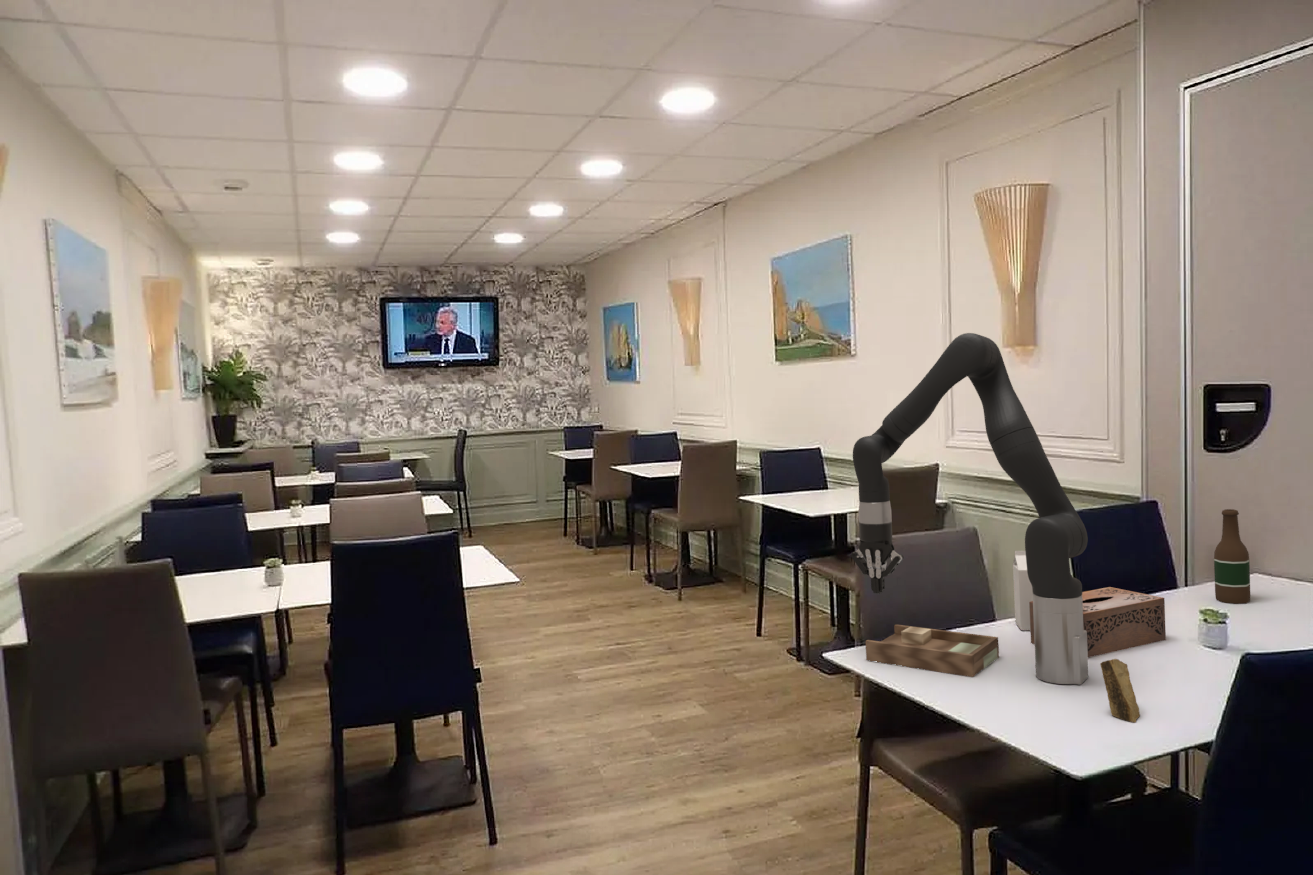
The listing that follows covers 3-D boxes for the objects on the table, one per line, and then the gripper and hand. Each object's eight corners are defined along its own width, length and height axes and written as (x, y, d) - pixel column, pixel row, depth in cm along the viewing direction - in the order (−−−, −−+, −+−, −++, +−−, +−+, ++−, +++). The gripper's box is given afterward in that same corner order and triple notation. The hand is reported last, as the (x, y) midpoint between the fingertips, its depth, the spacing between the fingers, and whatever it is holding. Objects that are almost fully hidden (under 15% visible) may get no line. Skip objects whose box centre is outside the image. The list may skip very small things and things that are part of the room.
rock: (1111, 683, 169) (1077, 686, 164) (1139, 653, 164) (1104, 655, 160) (1153, 731, 161) (1118, 736, 156) (1183, 701, 157) (1148, 705, 152)
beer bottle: (1208, 599, 234) (1205, 509, 233) (1230, 596, 237) (1227, 507, 236) (1235, 605, 227) (1232, 512, 226) (1258, 602, 229) (1255, 510, 228)
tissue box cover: (1082, 659, 192) (1081, 614, 191) (1030, 644, 205) (1029, 601, 204) (1165, 641, 201) (1164, 597, 201) (1111, 627, 215) (1109, 586, 214)
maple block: (931, 639, 203) (931, 629, 203) (922, 645, 200) (922, 634, 200) (910, 637, 207) (910, 626, 207) (901, 642, 203) (901, 631, 203)
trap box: (998, 657, 196) (998, 637, 196) (972, 677, 184) (971, 655, 183) (896, 643, 211) (896, 624, 211) (866, 660, 199) (865, 640, 199)
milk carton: (1052, 631, 214) (1049, 553, 213) (1020, 631, 215) (1017, 553, 214) (1045, 623, 221) (1042, 547, 220) (1015, 623, 222) (1012, 548, 221)
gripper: (908, 519, 206) (911, 592, 207) (857, 516, 215) (859, 587, 216) (894, 524, 201) (897, 599, 202) (842, 521, 209) (845, 593, 210)
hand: (878, 592), depth 209 cm, fingers closed
